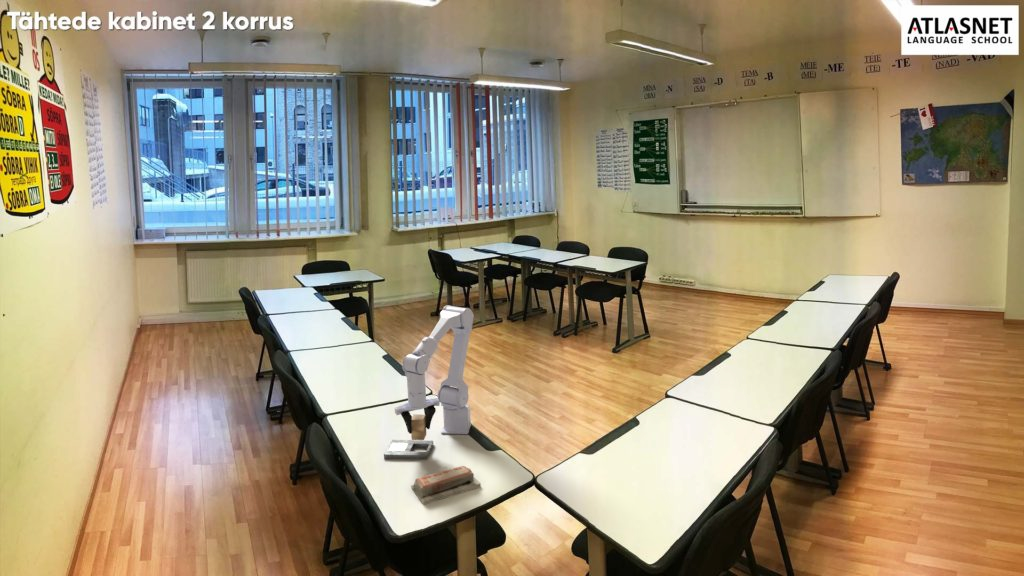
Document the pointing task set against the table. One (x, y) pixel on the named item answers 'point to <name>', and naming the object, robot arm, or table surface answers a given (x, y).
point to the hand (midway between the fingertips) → (418, 430)
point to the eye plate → (408, 449)
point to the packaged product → (445, 484)
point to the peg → (418, 427)
